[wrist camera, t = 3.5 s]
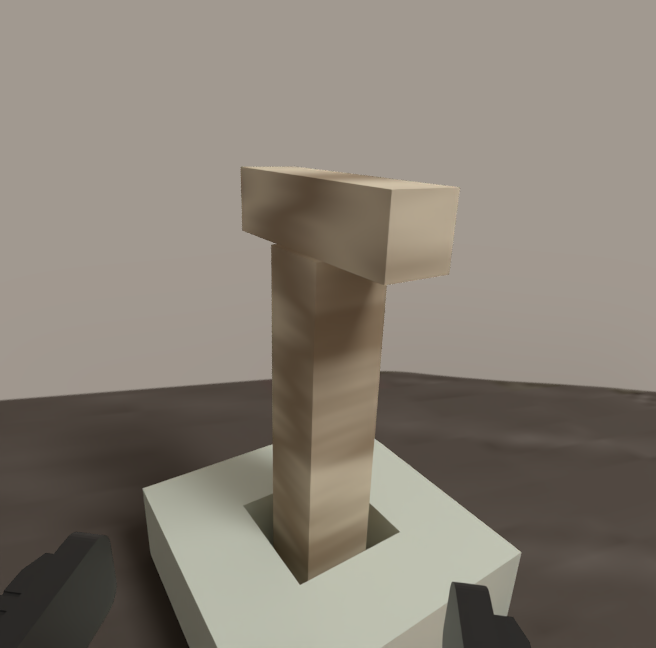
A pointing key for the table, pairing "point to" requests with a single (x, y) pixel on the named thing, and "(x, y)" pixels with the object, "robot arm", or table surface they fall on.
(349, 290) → the t key
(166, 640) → the table surface
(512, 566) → the socket block
